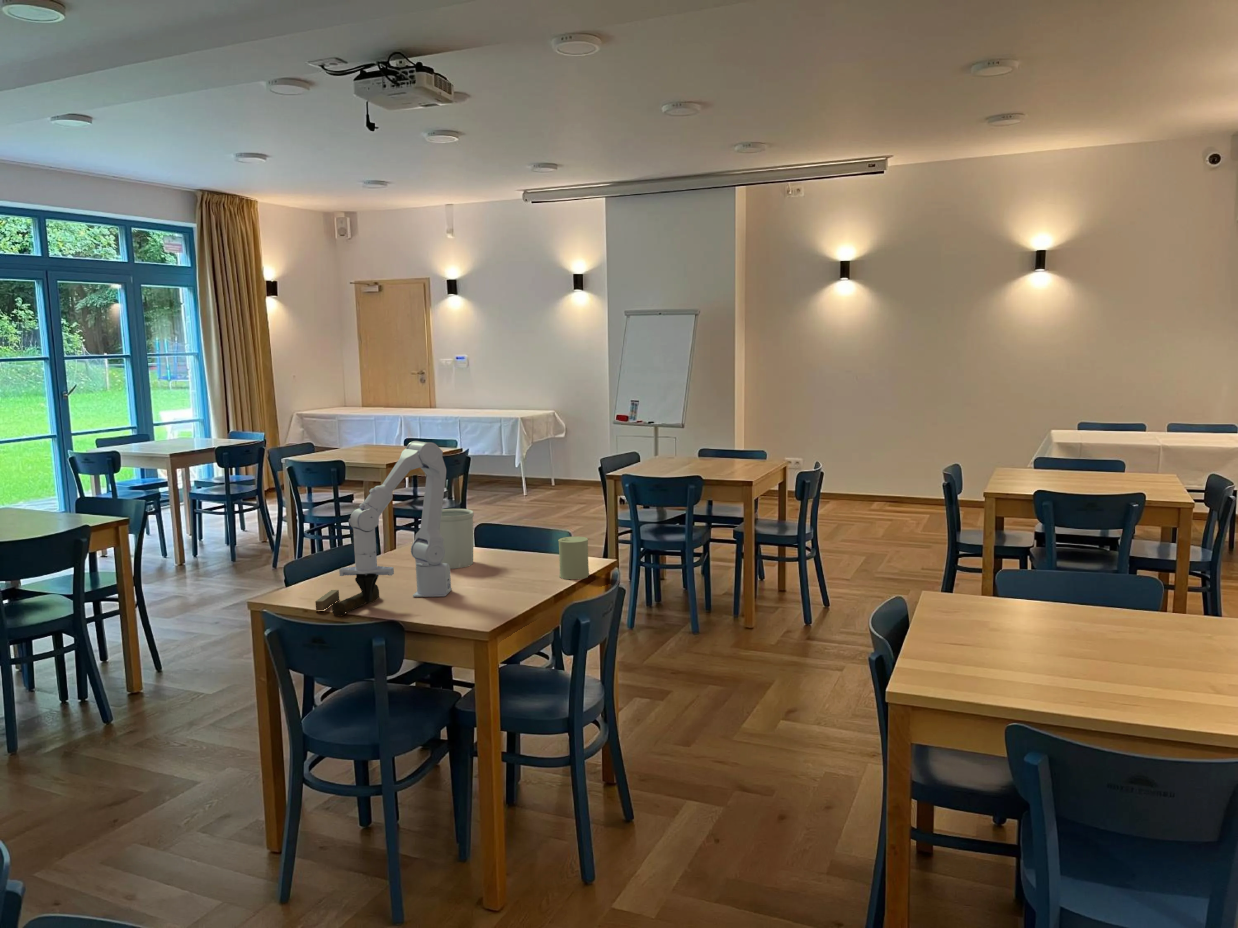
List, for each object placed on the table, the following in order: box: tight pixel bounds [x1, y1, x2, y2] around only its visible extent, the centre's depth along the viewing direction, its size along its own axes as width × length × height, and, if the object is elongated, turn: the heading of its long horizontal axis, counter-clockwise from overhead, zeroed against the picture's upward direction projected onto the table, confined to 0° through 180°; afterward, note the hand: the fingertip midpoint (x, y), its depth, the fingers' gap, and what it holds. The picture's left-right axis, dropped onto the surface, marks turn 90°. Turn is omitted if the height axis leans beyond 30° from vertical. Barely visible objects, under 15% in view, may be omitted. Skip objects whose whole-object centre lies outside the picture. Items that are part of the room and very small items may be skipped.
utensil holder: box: [439, 508, 475, 570], centre depth 294 cm, size 15×15×18 cm
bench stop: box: [314, 589, 340, 611], centre depth 248 cm, size 2×12×3 cm, turn 177°
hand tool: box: [331, 583, 380, 617], centre depth 247 cm, size 19×4×5 cm, turn 158°
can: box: [557, 535, 590, 580], centre depth 275 cm, size 9×9×12 cm
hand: (368, 600), depth 246 cm, fingers closed
